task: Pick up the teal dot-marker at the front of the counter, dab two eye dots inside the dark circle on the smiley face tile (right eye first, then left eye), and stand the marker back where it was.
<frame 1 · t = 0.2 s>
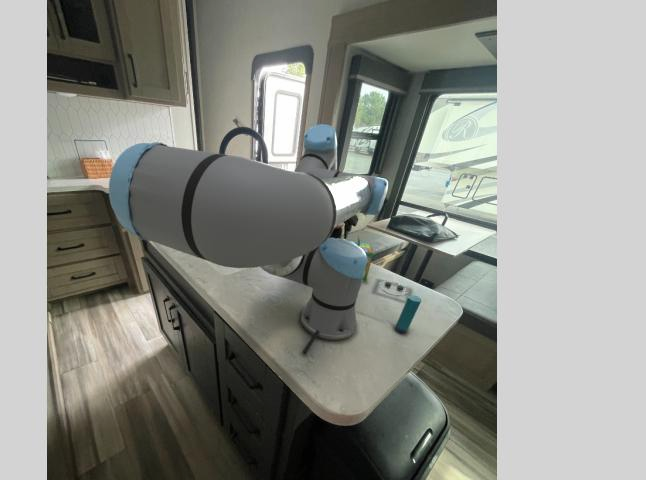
hand: (327, 231, 94), 15 cm above the counter, tool tilted 35°, fingers open, 13 cm apart
dot marker: (400, 330, 75), on the counter
eye dot right: (400, 287, 91), point 2 cm above the counter, slide at 0.1 cm
chalk box: (351, 275, 100), on the counter
eye dot left: (388, 284, 92), point 2 cm above the counter, slide at 0.1 cm
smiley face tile: (392, 291, 93), on the counter
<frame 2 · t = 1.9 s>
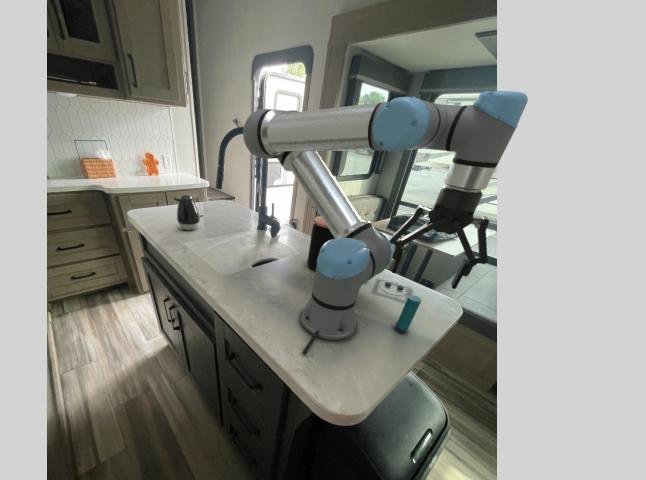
hand: (422, 278, 66), 17 cm above the counter, tool pointing down, fingers open, 13 cm apart
nothing on the counter moved.
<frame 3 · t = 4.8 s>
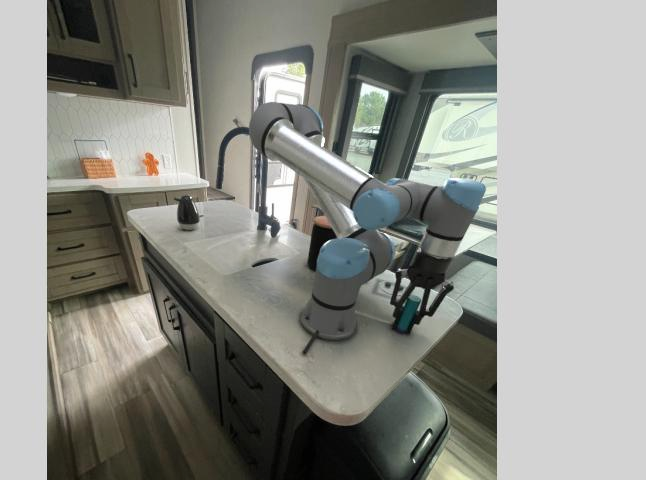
hand: (401, 328, 75), 1 cm above the counter, tool pointing down, fingers closed on dot marker, 3 cm apart
dot marker: (400, 330, 75), on the counter, touching gripper
everything else where it was.
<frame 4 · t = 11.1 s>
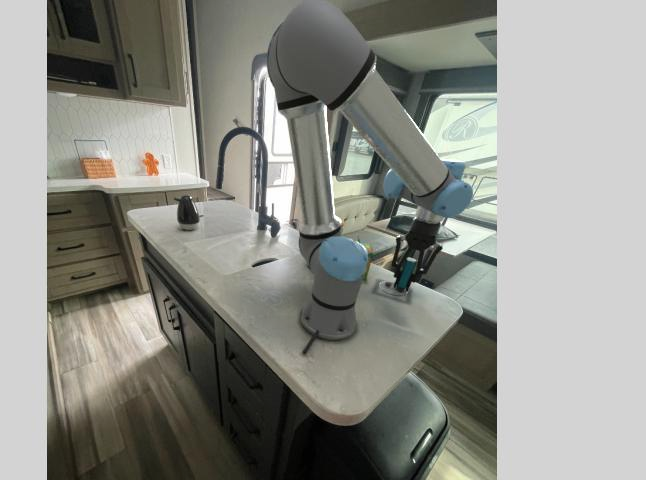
hand: (400, 287, 91), 2 cm above the counter, tool pointing down, fingers closed on dot marker, 3 cm apart
dot marker: (400, 288, 91), point 2 cm above the counter, touching eye dot right, gripper
eye dot right: (399, 289, 91), point 1 cm above the counter, slide at -0.6 cm, touching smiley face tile, dot marker
everything else where it was.
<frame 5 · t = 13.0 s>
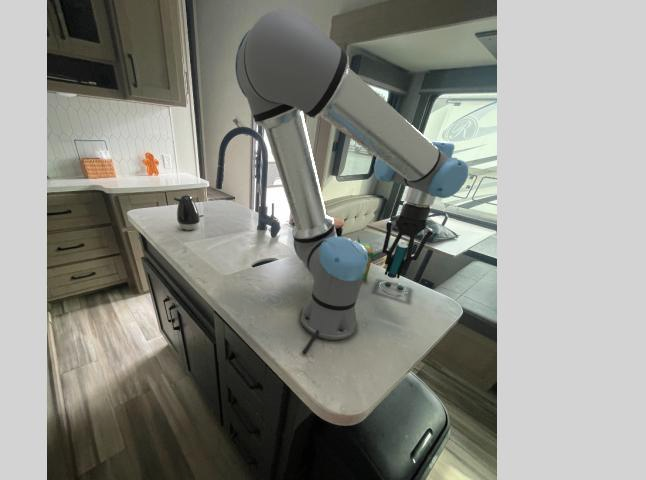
hand: (392, 274, 90), 6 cm above the counter, tool pointing down, fingers closed on dot marker, 3 cm apart
dot marker: (391, 275, 90), point 5 cm above the counter, touching gripper
eye dot right: (400, 287, 91), point 2 cm above the counter, slide at 0.1 cm
everything else where it was.
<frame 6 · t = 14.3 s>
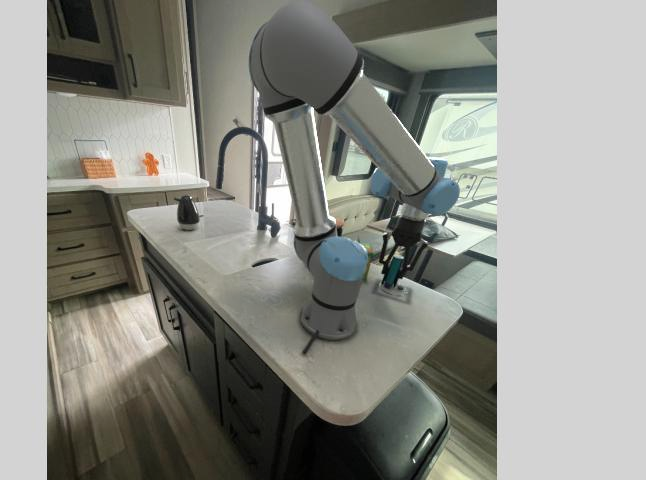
hand: (388, 284, 92), 2 cm above the counter, tool pointing down, fingers closed on dot marker, 3 cm apart
dot marker: (388, 285, 93), point 2 cm above the counter, touching eye dot left, gripper
eye dot left: (387, 286, 93), point 1 cm above the counter, slide at -0.6 cm, touching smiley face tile, dot marker
everything else where it was.
when the fingers open (0 cm above the counter, at t = 21.4 s): dot marker stays where it is, on the counter.
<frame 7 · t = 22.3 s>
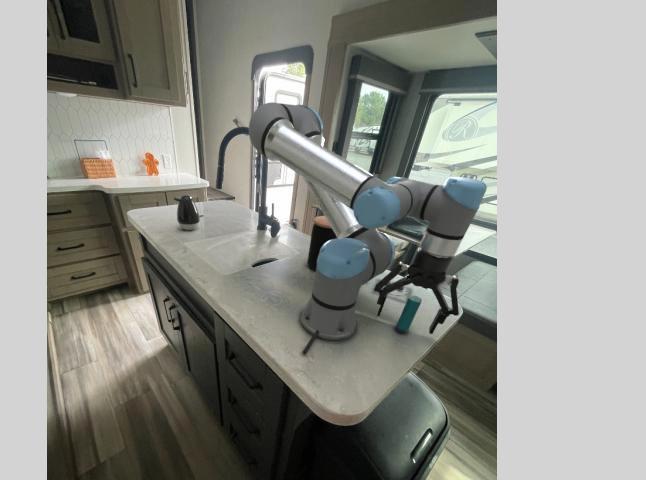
hand: (403, 322, 74), 3 cm above the counter, tool pointing down, fingers open, 13 cm apart
dot marker: (400, 330, 75), on the counter
eye dot left: (388, 284, 92), point 2 cm above the counter, slide at 0.1 cm
everything else where it was.
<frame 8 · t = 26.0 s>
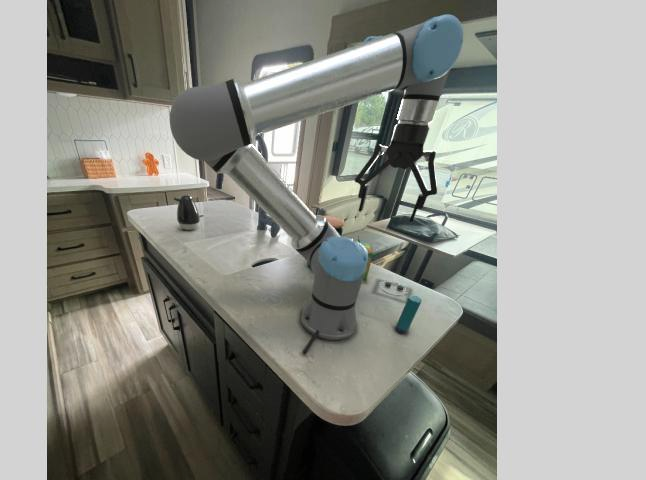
hand: (385, 215, 74), 27 cm above the counter, tool pointing down, fingers open, 13 cm apart
nothing on the counter moved.
at the end: eye dot right pushed in 0.6 cm at the most during the clip, back to where it started at the end; eye dot left pushed in 0.6 cm at the most during the clip, back to where it started at the end; dot marker inside the target area (0.1 cm from its centre), on the counter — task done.
